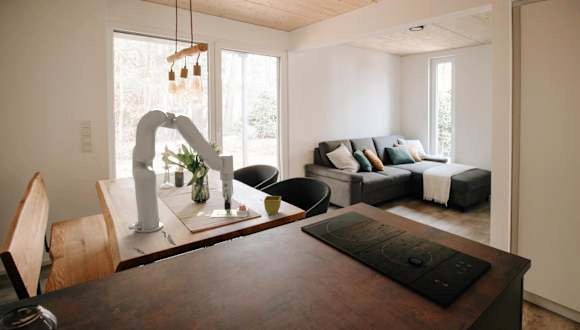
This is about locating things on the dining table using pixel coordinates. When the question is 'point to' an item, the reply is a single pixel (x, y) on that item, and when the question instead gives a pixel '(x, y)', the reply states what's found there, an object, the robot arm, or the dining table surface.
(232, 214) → the board
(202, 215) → the coaster
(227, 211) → the marker
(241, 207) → the button
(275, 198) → the flower pot
